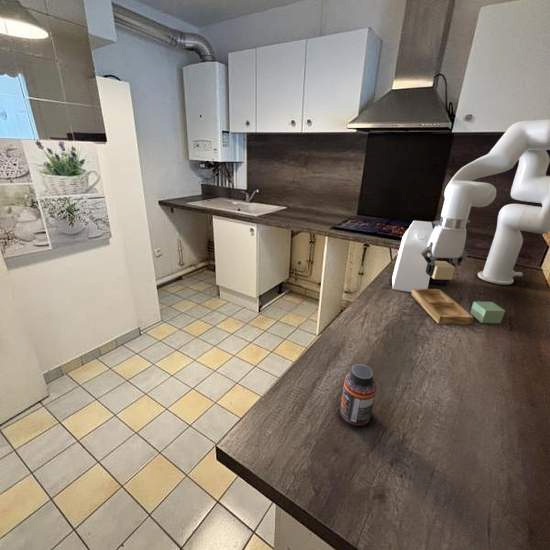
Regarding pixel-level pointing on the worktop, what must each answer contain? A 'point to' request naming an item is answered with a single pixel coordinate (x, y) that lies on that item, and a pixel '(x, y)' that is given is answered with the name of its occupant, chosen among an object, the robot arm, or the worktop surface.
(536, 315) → the worktop surface
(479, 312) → the green block
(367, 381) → the supplement bottle
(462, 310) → the divided wooden tray
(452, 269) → the tan block
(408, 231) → the milk
